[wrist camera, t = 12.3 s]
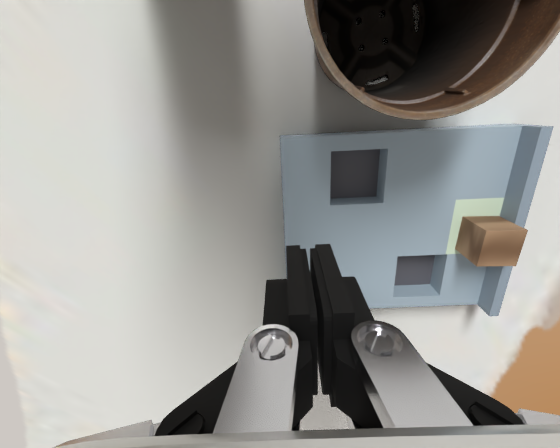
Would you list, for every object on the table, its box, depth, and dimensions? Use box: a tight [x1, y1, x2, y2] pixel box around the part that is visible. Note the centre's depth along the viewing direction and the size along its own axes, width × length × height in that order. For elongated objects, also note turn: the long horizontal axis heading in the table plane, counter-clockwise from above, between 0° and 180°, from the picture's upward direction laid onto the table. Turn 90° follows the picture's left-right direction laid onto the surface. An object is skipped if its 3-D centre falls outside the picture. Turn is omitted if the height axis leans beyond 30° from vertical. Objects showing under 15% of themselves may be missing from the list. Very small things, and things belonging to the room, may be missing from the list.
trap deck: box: [280, 124, 554, 316], centre depth 37 cm, size 24×28×6 cm
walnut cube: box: [455, 216, 528, 267], centre depth 34 cm, size 4×4×4 cm
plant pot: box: [304, 0, 560, 120], centre depth 24 cm, size 16×16×16 cm
